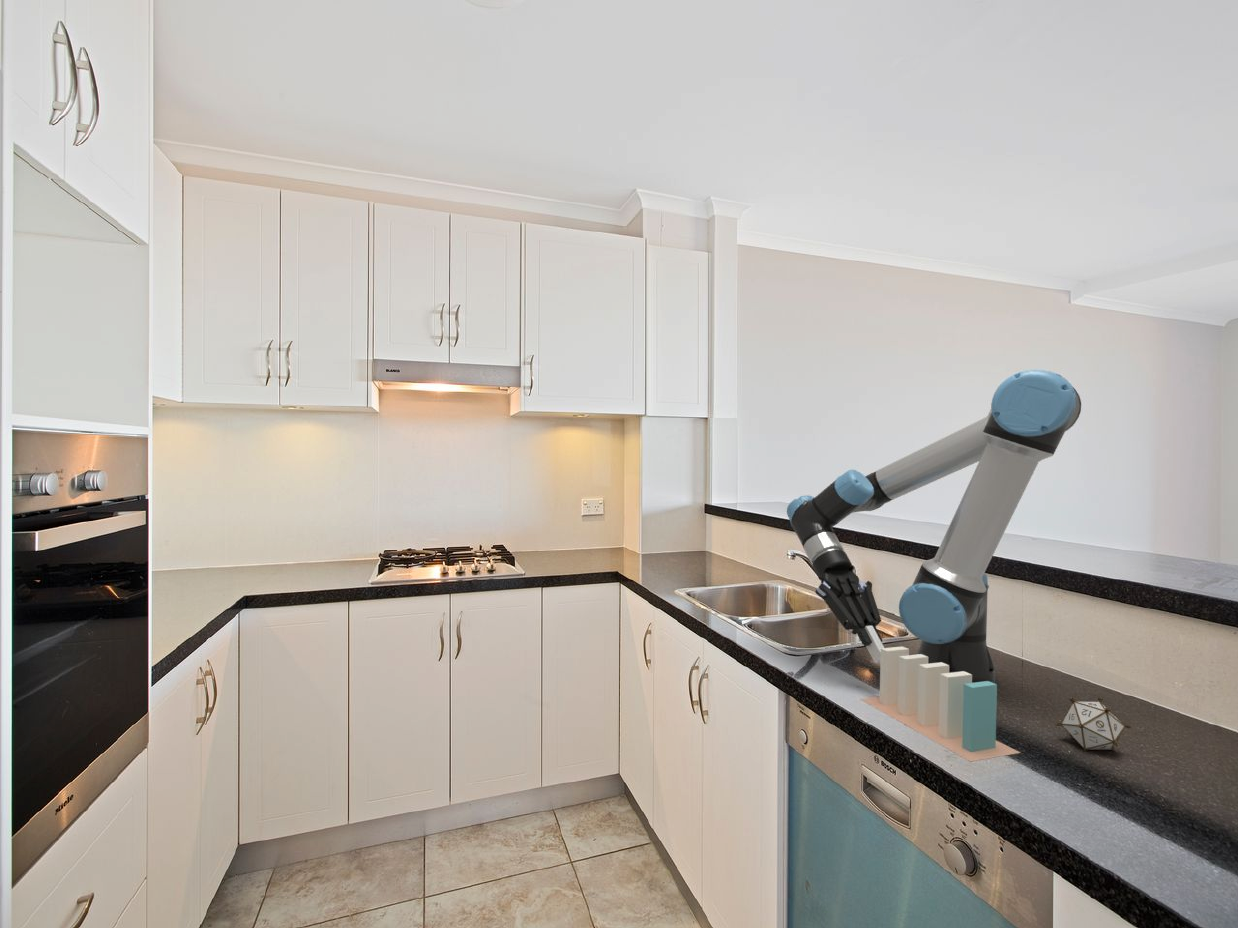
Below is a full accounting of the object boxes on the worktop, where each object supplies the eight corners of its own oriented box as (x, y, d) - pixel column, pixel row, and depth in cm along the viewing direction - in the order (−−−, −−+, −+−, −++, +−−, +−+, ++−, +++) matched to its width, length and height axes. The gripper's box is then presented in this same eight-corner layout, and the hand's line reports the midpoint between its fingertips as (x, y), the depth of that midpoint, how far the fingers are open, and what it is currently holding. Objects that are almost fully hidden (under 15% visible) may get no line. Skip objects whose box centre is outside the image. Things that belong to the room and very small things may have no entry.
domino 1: (879, 702, 111) (880, 648, 111) (901, 699, 112) (902, 646, 112) (885, 705, 109) (887, 651, 109) (907, 702, 111) (909, 648, 111)
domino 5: (962, 747, 94) (963, 683, 94) (986, 743, 95) (987, 680, 95) (970, 752, 92) (972, 687, 92) (995, 747, 94) (997, 684, 94)
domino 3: (917, 722, 102) (918, 664, 102) (940, 719, 104) (941, 662, 104) (924, 726, 101) (926, 667, 101) (947, 723, 102) (949, 665, 102)
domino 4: (938, 734, 98) (940, 673, 98) (962, 730, 99) (963, 671, 99) (946, 738, 96) (948, 677, 96) (970, 735, 98) (972, 674, 98)
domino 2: (897, 711, 106) (899, 656, 106) (920, 708, 108) (921, 653, 108) (904, 715, 105) (905, 659, 105) (927, 712, 106) (928, 656, 106)
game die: (1090, 767, 97) (1106, 711, 100) (1134, 775, 89) (1151, 713, 92) (1037, 735, 98) (1055, 681, 101) (1076, 740, 90) (1094, 680, 93)
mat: (860, 701, 112) (860, 698, 112) (902, 696, 115) (902, 693, 115) (970, 765, 89) (970, 761, 89) (1020, 756, 92) (1020, 752, 92)
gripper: (845, 567, 134) (899, 666, 118) (794, 569, 130) (843, 672, 114) (861, 546, 129) (920, 647, 113) (810, 548, 125) (863, 653, 109)
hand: (881, 659), depth 113 cm, fingers closed
